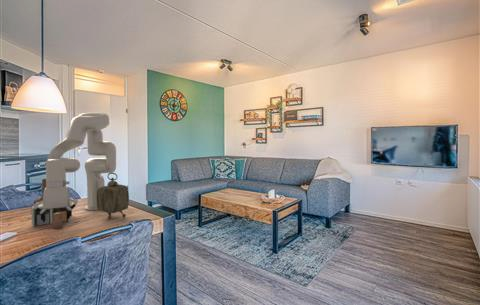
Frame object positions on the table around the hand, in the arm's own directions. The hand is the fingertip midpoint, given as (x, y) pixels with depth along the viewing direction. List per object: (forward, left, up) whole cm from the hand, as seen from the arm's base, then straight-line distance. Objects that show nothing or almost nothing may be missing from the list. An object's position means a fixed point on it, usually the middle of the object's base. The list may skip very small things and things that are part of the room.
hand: (56, 219), depth 116 cm
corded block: (0, -7, -4) cm, 8 cm away
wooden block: (+14, -55, -4) cm, 57 cm away
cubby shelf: (+3, -15, -4) cm, 16 cm away
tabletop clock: (-24, -5, -4) cm, 25 cm away
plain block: (+7, -13, -4) cm, 16 cm away
